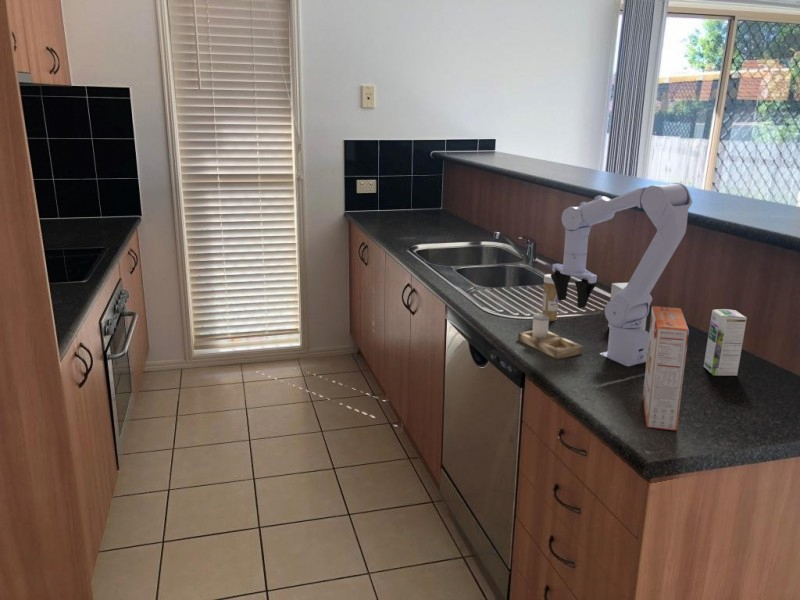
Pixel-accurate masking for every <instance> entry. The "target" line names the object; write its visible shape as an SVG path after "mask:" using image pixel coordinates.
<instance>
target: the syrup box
mask: <svg viewBox="0 0 800 600" xmlns="http://www.w3.org/2000/svg"><path fill="white" fill-rule="evenodd" d="M747 319H748V318H747V316H745V315H743V314H741V312H739V311H737V310H734V309H727V308H721V309H712V311H711V317H710V323H709V324H710V325H709V330H708V335H707V342H706V348H705V355H704V361H703V368H705V369H706V370H707V372H709V373H710V374H711V375H712V376H718V377H721V376H725V377H727V376H729V377H731V376H733V377H734V376H738V374H739V372H738V371H739V367H740V361H741V355H742V348H743V343H744V337H745V331H746V325H747Z"/></svg>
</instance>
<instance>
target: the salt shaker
mask: <svg viewBox="0 0 800 600" xmlns="http://www.w3.org/2000/svg"><path fill="white" fill-rule="evenodd" d="M549 323H550V321H549V316H548V315H544V314H542V313H536V314H533V315H532V337H533V338H536V339H538V340H541V339H546V338H548V331H549Z"/></svg>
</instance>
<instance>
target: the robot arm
mask: <svg viewBox="0 0 800 600" xmlns="http://www.w3.org/2000/svg"><path fill="white" fill-rule="evenodd" d="M692 204H693V199H692V197H691V193H690V190H689V189H688V187H687V186H686V185H685V184H683V183H681V182H675V183H671V184H669V183H668V184H661V185H658V184H657V185H655V184H654V185H649V186H643V187H639V188H636V189H634V190H633V189H632V190H631V191H628V192H626V193H624V194H621V195H619V196H617V197H614V198H609V197H608V196H602V195H597V196H594V199H593V200H591V201H588V202H587V201H583V202H579V206H569V207H567V208H566V209H564V210H563V211H562V214H561V222H562V223H561V224H562V226H563V227H564V228H565V231H564V232H565V234H564V249H563V263H562V264H561V263H552V269H551V270H552V272H553V273H550V274H551V278H552V280H553V282H554V284H555V287H556V292H557V297H558V302H559V301H560V302H561V301H565V300H567V299H566V298H567V295H568V287H569V283H570V279H571V277H572V278H575V279H578V281H575V282H574V283H575V287H576V292H577V308H578V309H582V308H586V306H587V303H588V300H589V298H590V295H591V294H592V292H593V290H594V289H595V288H596V286H597V285H598V282H597V278H598V275H597V274H594V273H593V272H591V271H589V270H587V268H586V267H587V255H588V244H589V243H588V242H589V235H590V233H591V228H592V226H595V225H597V224H600V223H603V222H607V221H609V220H612V219H613V218H614V217H615V214H616V212H620V211H623V210H627V209H630V208H634V207H638V208H639V209H642V210H644V213H646V215H647V217H648V218H649V219H650V221H651V223H652V224H653V225H654V227H655V228H656V233H654V234H655V235H654V236H653V238H652V240H651V241H650V244H649V245H648V247H647V249H646V250H645V252H644V254H643V256H642V258H641V260H640V262H639V263H638V265H637V266H636V268H635V270H634V272H633V274H632V276H631V278H630V279H629V281H628V282H627V283H628V284H627V286H626V287H625V288H623V289H622V290H621V291H620V292H618V293H617V294H616V296H615V298H614V299H613V300H611V301H610V300H609V301H608V302H607V303H606V304H605V307H604V315H605V318H606V320H607V321H608V323H609V324H610V328H609V331H608V332H609V333H608V342H607V351H604V352H600V353H599V355H600V356H603V357H606V358H608V359H610V360H612V361H615V362H617V363H619V364H621V365H623V366H625V367H630V366H631V367H632V366H635V365H639V364H644V363H646V361H647V350H648V341H649V331H647V330H646V329H645V330H644V329H643V328H642V326H641V324H642V323H643V319H644V318H645V317H646V316H647V317H648V315H649V313H650V306H651V303H652V302H653V297H652V295H651V292H652V290H653V289H654V287H655V286H656V283H657V282H658V280H659V278H660V277H661V275H662V273H663V272H664V270H665V268H666V267H667V265H668V263H669V262H670V260H671V258H672V257H673V255H674V253H675V252H676V249H677V248H678V246H679V245H680V243H681V241H682V240H683V238H684V236H685V235H686V231H687V226H688V216H689V209H690V208H691V206H692Z"/></svg>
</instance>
